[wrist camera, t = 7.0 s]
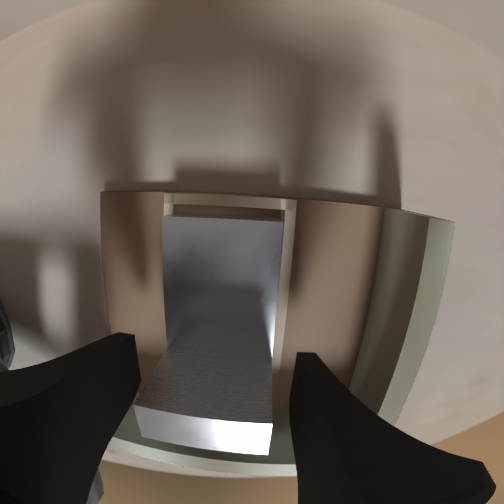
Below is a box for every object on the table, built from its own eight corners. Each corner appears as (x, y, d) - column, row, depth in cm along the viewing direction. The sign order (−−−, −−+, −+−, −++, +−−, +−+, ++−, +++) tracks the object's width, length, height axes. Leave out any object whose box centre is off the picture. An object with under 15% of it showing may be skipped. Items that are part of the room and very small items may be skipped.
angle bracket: (268, 368, 12) (267, 454, 7) (179, 359, 12) (141, 436, 7) (281, 217, 11) (292, 241, 6) (175, 212, 11) (110, 231, 6)
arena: (401, 209, 11) (454, 222, 7) (353, 417, 13) (369, 470, 9) (105, 191, 11) (47, 197, 7) (127, 397, 14) (99, 443, 10)
